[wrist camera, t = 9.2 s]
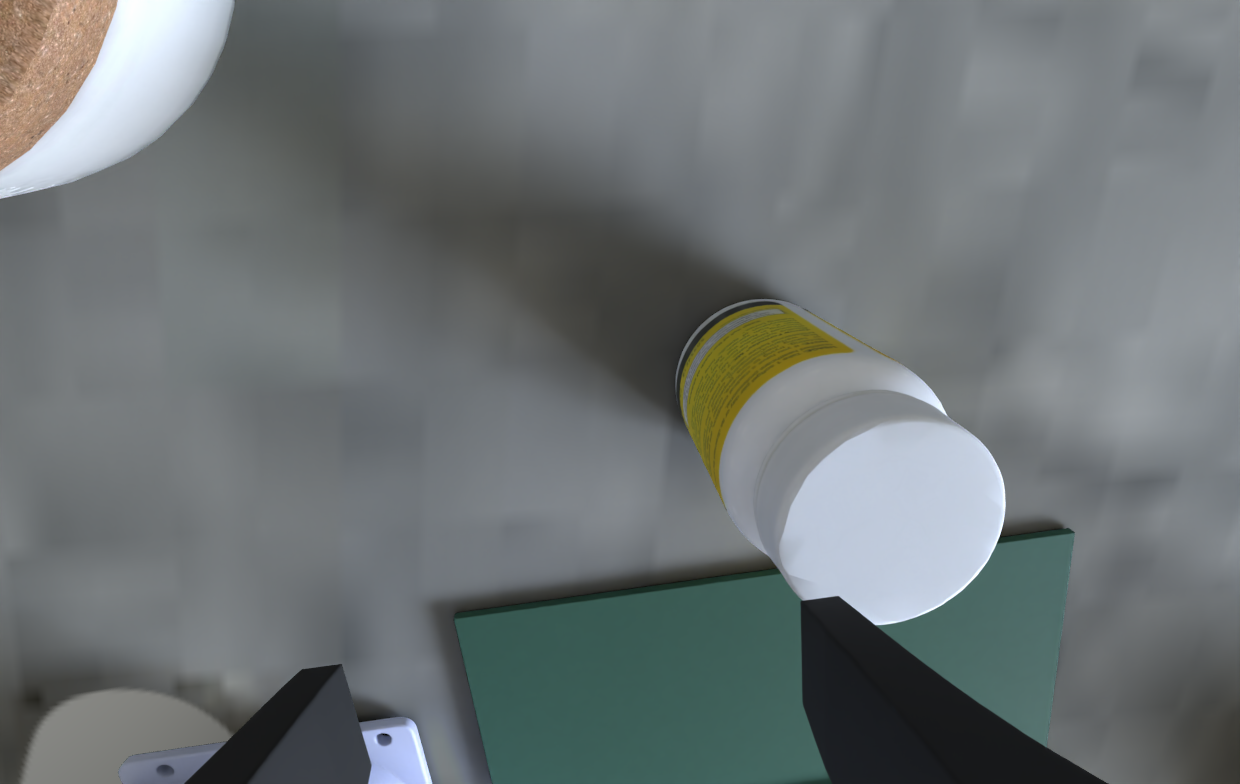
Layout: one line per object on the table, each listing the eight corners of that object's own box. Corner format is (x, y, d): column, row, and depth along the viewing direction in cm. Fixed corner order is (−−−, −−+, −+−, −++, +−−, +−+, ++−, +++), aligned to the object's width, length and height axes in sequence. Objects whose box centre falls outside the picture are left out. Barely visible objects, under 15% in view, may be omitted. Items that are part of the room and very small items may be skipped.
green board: (514, 869, 24) (513, 885, 24) (454, 612, 20) (451, 625, 20) (1035, 789, 25) (1045, 804, 24) (1068, 527, 21) (1082, 537, 21)
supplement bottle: (652, 432, 19) (711, 618, 11) (702, 276, 18) (809, 359, 10) (802, 468, 20) (959, 666, 12) (861, 321, 18) (1082, 431, 10)
